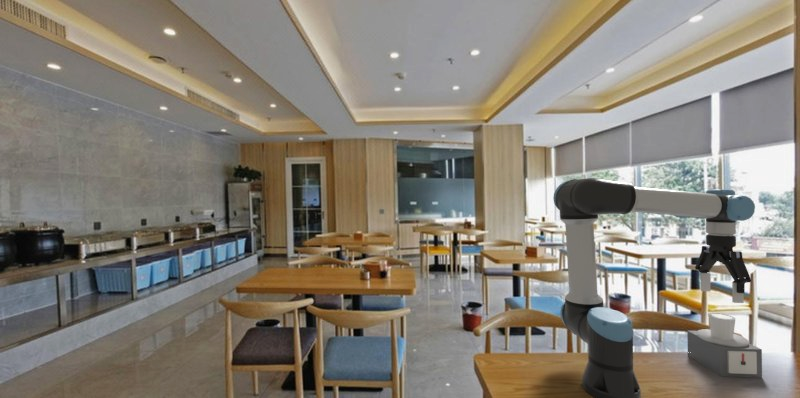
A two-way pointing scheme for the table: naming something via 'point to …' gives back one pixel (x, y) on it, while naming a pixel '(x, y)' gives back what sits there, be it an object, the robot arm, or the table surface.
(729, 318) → the shot glass
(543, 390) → the table surface
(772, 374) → the table surface
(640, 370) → the table surface
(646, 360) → the table surface
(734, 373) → the dial scale
